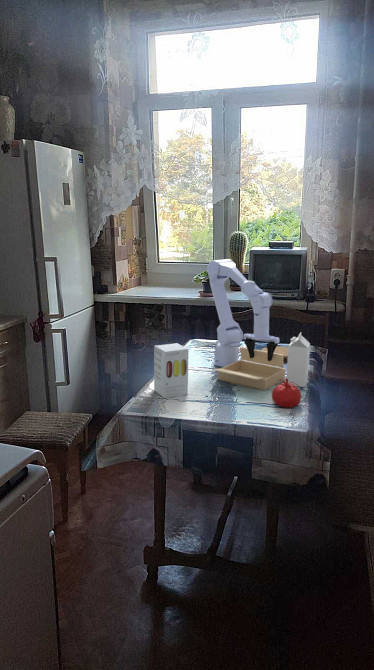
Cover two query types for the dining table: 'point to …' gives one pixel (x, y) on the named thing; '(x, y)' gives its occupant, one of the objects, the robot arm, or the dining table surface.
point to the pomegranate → (286, 395)
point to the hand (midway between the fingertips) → (260, 359)
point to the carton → (260, 370)
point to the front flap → (238, 374)
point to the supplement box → (171, 370)
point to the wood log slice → (280, 352)
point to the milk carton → (298, 361)
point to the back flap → (262, 357)
